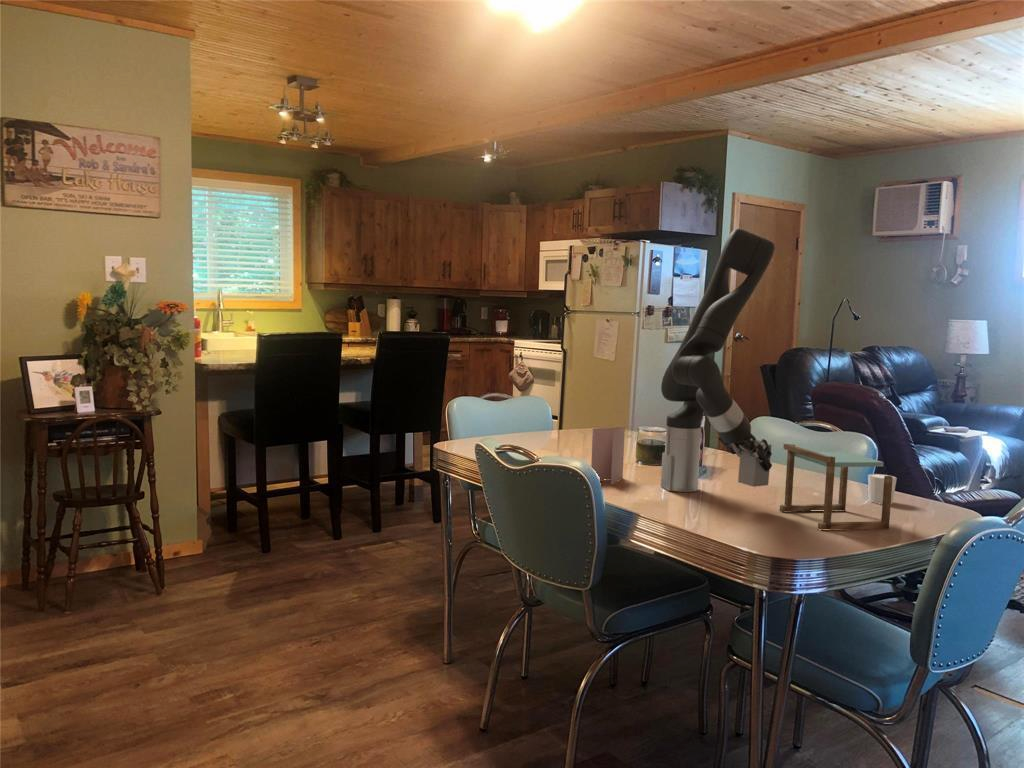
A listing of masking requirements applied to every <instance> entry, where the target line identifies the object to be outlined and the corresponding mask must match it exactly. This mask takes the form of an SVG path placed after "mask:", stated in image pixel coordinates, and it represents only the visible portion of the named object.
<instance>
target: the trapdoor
mask: <svg viewBox="0 0 1024 768" xmlns="http://www.w3.org/2000/svg"><path fill="white" fill-rule="evenodd" d="M815 452H816V453H819V454H823V455H826V456H833V457H835V468H841V467H848V468H855V467H857V468H866V467H867V468H869V467H873V468H874V467H884V463H885V462H884V461H881V460H877V459H874V458H870V457H866V456H863V455H860V454H856V453H852V452H848V451H815ZM794 456H795V458H798V459H799V458H800V459H802V460H805V461H809V462H811V463H814V464H817V465H821V466H823V467H826V468H827V462H823V461H820V460H817V459H813V458H810V457H807V456H804V455H801V454H798V453H795V452H794Z"/></svg>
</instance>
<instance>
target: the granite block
mask: <svg viewBox="0 0 1024 768" xmlns="http://www.w3.org/2000/svg"><path fill="white" fill-rule="evenodd" d="M768 446H769V448H770V451H771V452H772V444H770V443H768ZM756 448H757V446H756V445H755V447H754V448H753V450H754V449H756ZM753 450H752V452H753ZM757 455H758V456H760V454H759V452H758V453H757ZM771 456H772V455H771ZM771 456H770V458H769V459H768V460H769V461H770V462H771ZM738 466H739V467H738V478H737V479H738V480H737V483H739V484H742V485H747V486H750V487H752V488H754V487H763V486H764V487H765V486H769V478H770V470H769V471H768V472H767V471H764V469H763V468H762V466H761V465H760V463H759V461H758V460H757V459H756V458H755V457H751V456H750V455H749V454H748V453H747V452H746V451H745V450H741V454H740V457H739V465H738Z"/></svg>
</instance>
